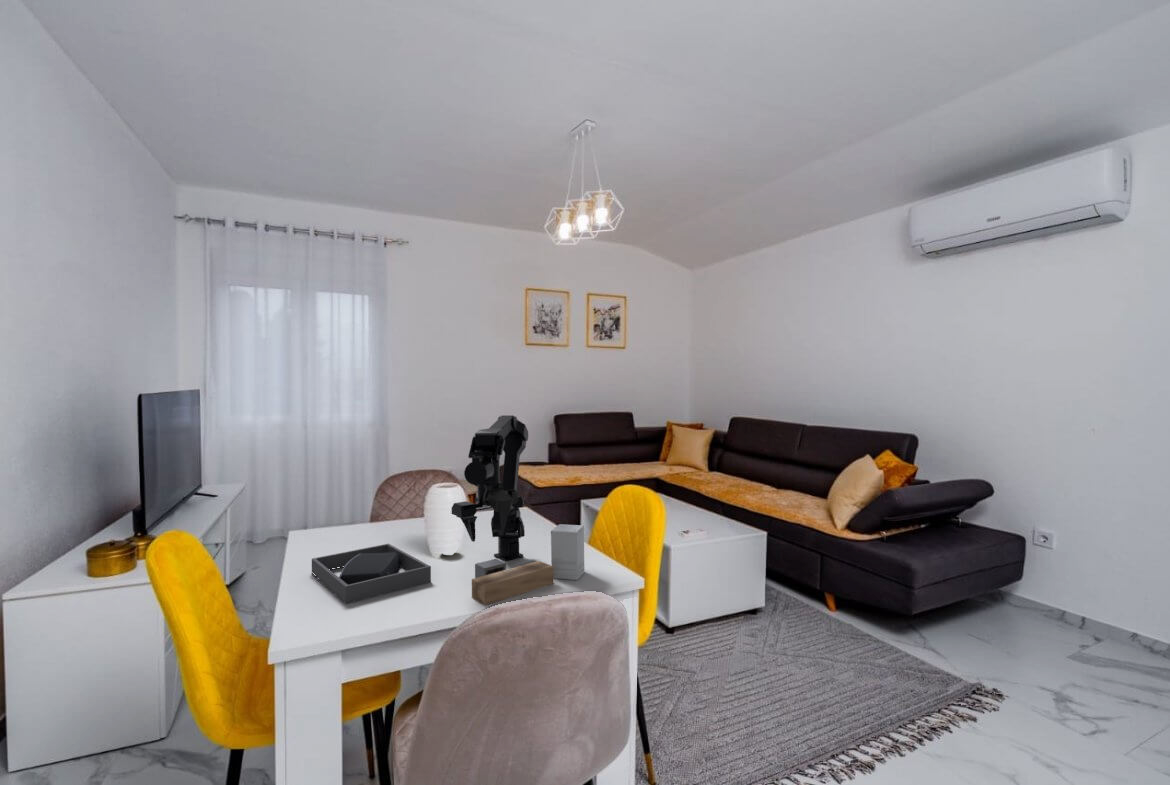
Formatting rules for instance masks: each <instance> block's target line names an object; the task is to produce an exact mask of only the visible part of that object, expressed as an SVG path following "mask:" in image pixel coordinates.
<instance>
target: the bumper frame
mask: <svg viewBox="0 0 1170 785" xmlns="http://www.w3.org/2000/svg"><path fill="white" fill-rule="evenodd" d="M391 552H396V554H397V556H398V558H399V562H400V566H399V567H401V568H403V569H405V571H401V572H396V573H395V574H392V575H388V576H383V577H379V578H375V579H371V580H366V581H362V582H358V583H354V584H349V585H348V584H346V583H345V582H344V581H343V580H341V579H340V578H339V575H337V574H335V573H334V572H332V571H333V570H329V569H332V568H337V567H342V566H345V565H346V564H347V563H348V562H349V561H350V560H351V559H352V558H354V557H355V556H357V555H358V554H367V553H391ZM312 572H313V573H314V574H315V575H316V576H317V577H318V578H319V579H320V580H321V581H322V582H323V583H324V584H325V585H326V586H327V587H328V589H329V591H331V592H332V593H333V594H334V593H335V594H336V595H337V596H338V598H339V600H341V602H343V603H344V604H345V605H347V604H349V603H350V604H351V603H354V602H358V601H362V600H366V599H369V598H374V597H378V596H381V595H385V594H390V593H394V592H397V591H402V590H406V589H409V588H413V587H416V586H420V585H424V584H428V583H431V581H432V573H431V572H432V567H431V565H429V564H427V563H425V562H424V561H422V560H419V559H418V558H416V557H414V556H413V555H411V554H409V553H407V552H405V551H403V550H402V549H399V548H398V547H396V546H394V545H392V544H390V543H384V544H379V545H376V546H371V547H370V546H369V547H363V548H359V549H354V550H350V551H349V550H348V551H344V552H340V553H334V554H329V555H324V556H320V557H314V558H311V573H312ZM319 579H318V580H319ZM320 580H319V581H320ZM321 581H320V582H321ZM322 582H321V583H322ZM323 583H322V584H323ZM324 584H323V585H324ZM325 585H324V586H325ZM326 586H325V587H326ZM335 594H334V595H335ZM336 595H335V596H336ZM337 596H336V597H337Z"/></svg>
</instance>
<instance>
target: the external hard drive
mask: <svg viewBox="0 0 1170 785" xmlns="http://www.w3.org/2000/svg"><path fill="white" fill-rule="evenodd" d="M399 565H400V562H399V558H398V556H397V554H396V552H391V553H367V554H358V555H357V556H355V557H354V558H352V559H351V560H350V561H349V562H348V563H347V564H346V565H345V566H344V568H341V569H342V570H341V572H340V574H339V575H338V577H339V578H340V579H341V580H343V581H344V582H345V583H346V584H348V585H349V584H354V583H358V582H362V581H366V580H371V579H375V578H379V577H383V576H388V575H392V574H396V573H398V572H397V571H398V570H399V567H400V566H399Z"/></svg>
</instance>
